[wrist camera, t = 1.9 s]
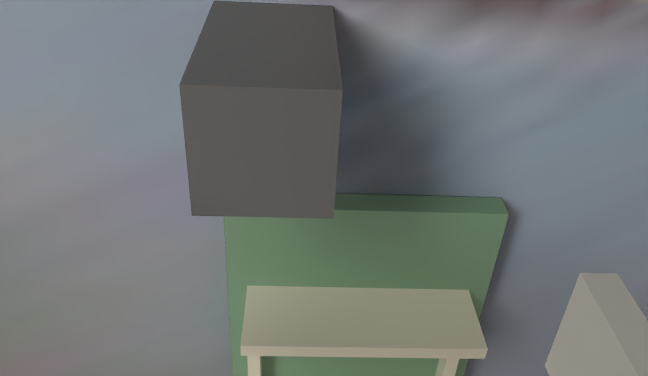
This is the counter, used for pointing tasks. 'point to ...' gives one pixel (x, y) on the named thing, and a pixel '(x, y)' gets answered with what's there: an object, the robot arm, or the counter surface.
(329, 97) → the plug
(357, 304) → the board
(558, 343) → the robot arm
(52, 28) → the counter surface
